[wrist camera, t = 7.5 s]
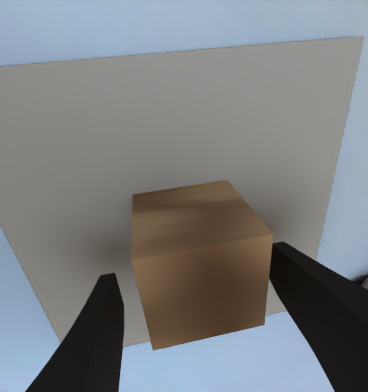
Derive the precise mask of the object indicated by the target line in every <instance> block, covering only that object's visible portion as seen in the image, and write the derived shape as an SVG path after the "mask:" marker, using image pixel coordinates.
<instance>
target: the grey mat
mask: <svg viewBox="0 0 368 392" xmlns="http://www.w3.org/2000/svg"><path fill="white" fill-rule="evenodd" d="M363 40H364V36H360V37H348V38H336V39H324V40H312V41H300V42H288V43H276V44H264V45H252V46H240V47H228V48H215V49H203V50H191V51H179V52H167V53H155V54H143V55H131V56H119V57H107V58H95V59H83V60H71V61H58V62H46V63H34V64H22V65H10V66H0V226H1V228H2V229H3V231H4V233H5V235H6V237H7V239H8V241H9V243H10V245H11V247H12V249H13V251H14V253H15V255H16V257H17V259H18V261H19V263H20V265H21V267H22V269H23V271H24V272H25V274H26V276H27V278H28V280H29V282H30V284H31V286H32V288H33V290H34V292H35V294H36V296H37V298H38V300H39V302H40V304H41V306H42V308H43V310H44V312H45V314H46V316H47V317H48V319H49V321H50V323H51V325H52V327H53V329H54V331H55V333H56V335H57V337H58V339H59V341H60V343H61V342H62V341H63V339H64V338H65V336H66V335H67V333H68V331H69V330H70V328H71V327H72V325H73V324H74V322H75V320H76V319H77V317H78V315H79V313H80V312H81V310H82V308H83V306H84V305H85V303H86V301H87V299H88V297H89V296H90V294H91V292H92V290H93V288H94V286H95V284H96V282H97V280H98V278H99V277H100V275H105V274H110V273H115V274H116V278H117V281H118V285H119V288H120V292H121V296H122V299H123V303H124V339H123V347H127V346H131V345H136V344H140V343H145V342H149V341H151V340H150V336H149V332H148V328H147V324H146V320H145V316H144V312H143V307H142V303H141V299H140V295H139V291H138V287H137V283H136V279H135V274H134V270H133V266H132V262H131V244H132V203H133V194H139V193H146V192H152V191H159V190H165V189H172V188H178V187H185V186H191V185H198V184H204V183H211V182H217V181H224V180H227V181H228V182H229V183H230V184H231V185H232V186H233V188H234V189H235V190H236V191H237V192H238V193H239V195H240V196H241V197H242V198H243V199H244V200H245V202H246V203H247V204H248V205H249V206H250V207H251V209H252V210H253V211H254V212H255V213H256V214H257V216H258V217H259V218H260V219H261V220H262V221H263V223H264V224H265V225H266V226H267V227H268V228H269V230H270V231H271V232H272V233H273V242H272V243H277V242H283V241H284V242H285V243H287V244H289V245H291V246H292V247H294V248H296V249H297V250H299V251H300V252H302V253H304V254H305V255H307V256H309V257H310V258H312V259H314V260H315V261H316V258H317V253H318V248H319V244H320V239H321V235H322V230H323V225H324V221H325V216H326V211H327V207H328V202H329V198H330V193H331V188H332V184H333V179H334V174H335V170H336V165H337V161H338V156H339V151H340V147H341V142H342V137H343V133H344V128H345V124H346V119H347V114H348V110H349V105H350V101H351V96H352V91H353V87H354V82H355V77H356V73H357V68H358V64H359V59H360V54H361V50H362V45H363ZM285 311H287V310H286V308H285V307H284V305H283V304H282V302H281V300H280V299H279V297H278V296H277V294H276V292H275V290H274V288H273V286H272V284H271V281H270V279H269V282H268V293H267V303H266V313H265V316H266V315H271V314H276V313H280V312H285Z"/></svg>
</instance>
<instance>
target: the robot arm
mask: <svg viewBox="0 0 368 392" xmlns="http://www.w3.org/2000/svg"><path fill="white" fill-rule="evenodd" d="M269 279H270V281H271V284H272V286H273V288H274V290H275V292H276V294H277V296H278V297H279V299H280V300H281V302H282V304H283V305H284V307H285V308H286V310H287V311H288V313H289V314H290V316H291V317H292V319H293V320H294V322H295V323H296V325H297V327H298V328H299V330H300V331H301V333H302V334H303V336H304V337H305V339H306V340H307V342H308V343H309V345H310V347H311V348H312V350H313V352H314V353H315V355H316V357H317V359H318V361H319V363H320V364H321V366H322V368H323V370H324V372H325V374H326V376H327V377H328V379H329V381H330V383H331V385H332V387H333V389H334V391H335V392H368V289H366V288H364V287H362V286H360V285H358V284H356V283H354V282H352V281H350V280H349V279H347V278H345V277H343V276H341V275H339V274H337V273H336V272H334V271H332V270H330V269H329V268H327V267H325V266H324V265H322V264H320V263H318V262H317V261H315V260H314V259H312V258H310V257H309V256H307V255H305V254H304V253H302V252H300V251H299V250H297V249H296V248H294V247H292V246H291V245H289V244H287V243H285V242H284V241H283V242H277V243H272V252H271V262H270V272H269ZM123 339H124V303H123V299H122V296H121V292H120V288H119V285H118V281H117V278H116V274H115V273H110V274H105V275H100V277H99V278H98V280H97V282H96V284H95V286H94V288H93V290H92V292H91V294H90V296H89V297H88V299H87V301H86V303H85V305H84V306H83V308H82V310H81V312H80V313H79V315H78V317H77V319H76V320H75V322H74V324H73V325H72V327H71V328H70V330H69V331H68V333H67V335H66V336H65V338H64V339H63V341H62V342H61V344H60V345H59V347H58V348H57V350H56V351H55V353H54V354H53V355H52V357H51V358H50V360H49V361H48V362H47V364H46V365H45V367H44V368H43V369H42V371H41V372H40V373H39V375H38V376H37V377H36V378H35V380H34V381H33V382H32V383H31V385H30V386H29V387H28V389H27V390H26V391H25V392H118V391H119V380H120V369H121V359H122V349H123Z"/></svg>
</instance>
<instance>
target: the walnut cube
mask: <svg viewBox="0 0 368 392" xmlns="http://www.w3.org/2000/svg"><path fill="white" fill-rule="evenodd" d="M272 242H273V233H272V232H271V231H270V230H269V228H268V227H267V226H266V225H265V224H264V223H263V221H262V220H261V219H260V218H259V217H258V216H257V214H256V213H255V212H254V211H253V210H252V209H251V207H250V206H249V205H248V204H247V203H246V202H245V200H244V199H243V198H242V197H241V196H240V195H239V193H238V192H237V191H236V190H235V189H234V188H233V186H232V185H231V184H230V183H229V182H228V181H227V180H224V181H217V182H211V183H204V184H198V185H191V186H185V187H178V188H172V189H165V190H159V191H152V192H146V193H139V194H133V203H132V244H131V262H132V266H133V270H134V274H135V279H136V283H137V287H138V291H139V295H140V299H141V303H142V307H143V312H144V316H145V320H146V324H147V328H148V332H149V336H150V340H151V344H152V349H153V350H157V349H162V348H166V347H170V346H175V345H179V344H183V343H188V342H192V341H197V340H201V339H205V338H210V337H214V336H218V335H223V334H227V333H231V332H236V331H240V330H244V329H249V328H253V327H257V326H262V325H264V323H265V313H266V303H267V293H268V282H269V272H270V262H271V252H272Z"/></svg>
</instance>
